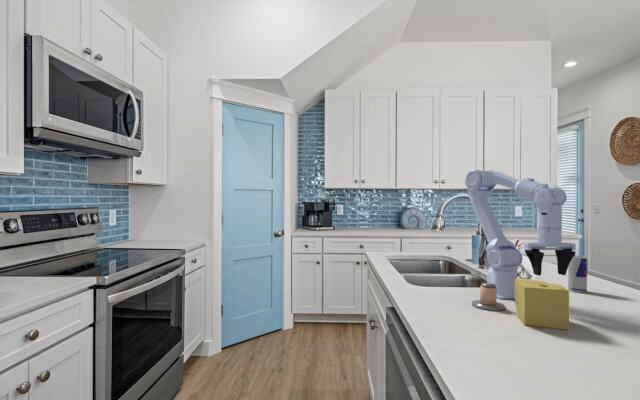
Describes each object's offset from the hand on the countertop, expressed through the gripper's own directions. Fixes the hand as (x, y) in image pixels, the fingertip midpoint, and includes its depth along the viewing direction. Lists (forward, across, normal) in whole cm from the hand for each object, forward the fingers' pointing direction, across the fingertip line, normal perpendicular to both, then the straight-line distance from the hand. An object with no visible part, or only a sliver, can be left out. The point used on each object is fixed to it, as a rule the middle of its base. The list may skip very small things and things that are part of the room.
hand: (549, 274), depth 103 cm
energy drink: (+10, +25, +19) cm, 33 cm away
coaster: (+10, -17, +3) cm, 20 cm away
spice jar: (+9, -17, +3) cm, 20 cm away
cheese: (+10, -11, -11) cm, 18 cm away
